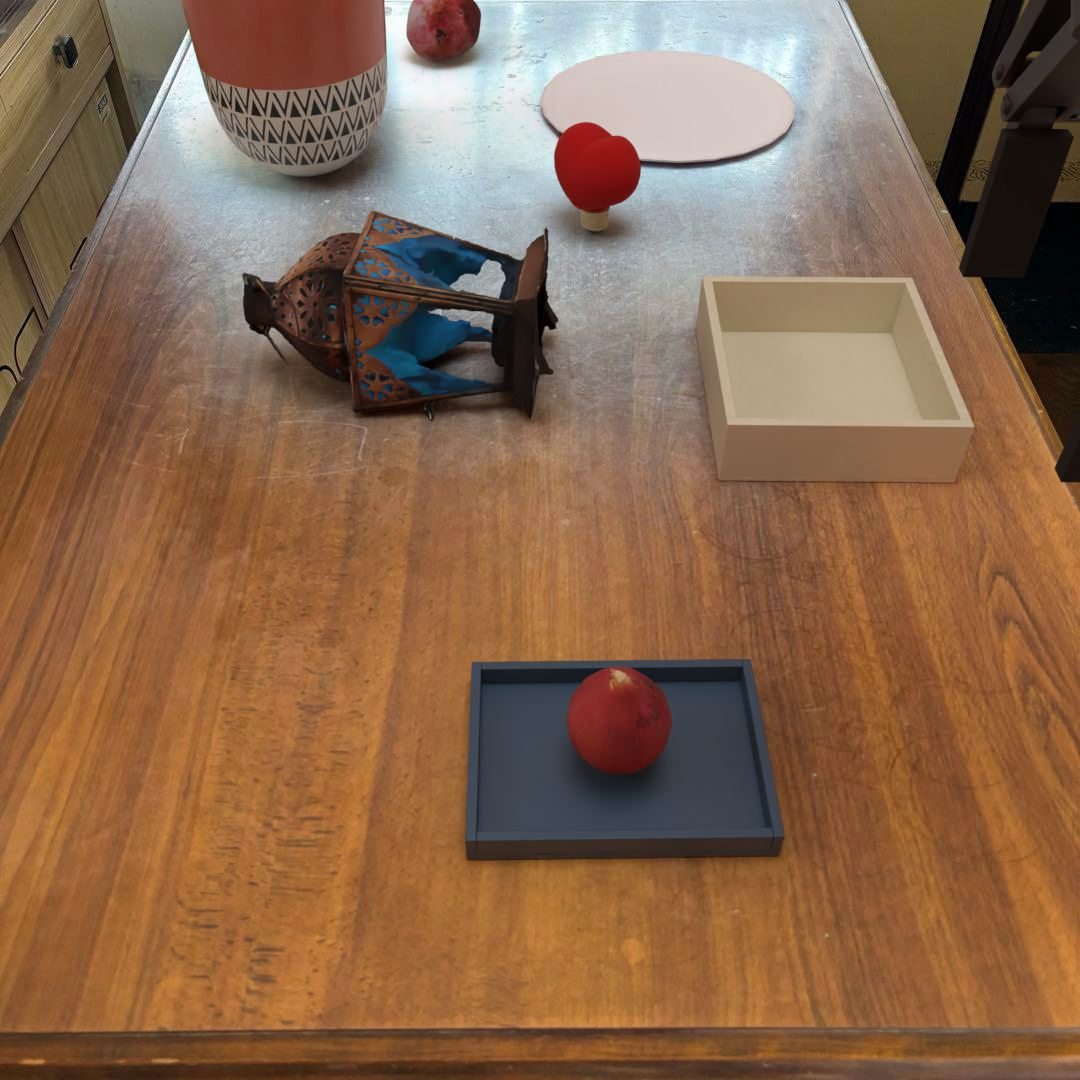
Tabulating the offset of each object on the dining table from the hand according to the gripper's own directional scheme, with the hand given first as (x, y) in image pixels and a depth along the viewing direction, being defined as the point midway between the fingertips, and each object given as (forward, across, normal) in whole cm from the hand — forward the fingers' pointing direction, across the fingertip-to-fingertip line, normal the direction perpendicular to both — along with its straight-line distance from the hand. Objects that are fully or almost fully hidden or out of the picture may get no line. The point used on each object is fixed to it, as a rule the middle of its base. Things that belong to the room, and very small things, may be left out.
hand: (1037, 364), depth 45 cm
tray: (+29, 0, -16) cm, 33 cm away
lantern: (+29, -38, -31) cm, 57 cm away
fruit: (+29, -103, -33) cm, 112 cm away
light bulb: (+29, -61, -16) cm, 69 cm away
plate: (+29, -88, -6) cm, 93 cm away
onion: (+28, 0, -16) cm, 32 cm away
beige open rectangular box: (+29, -34, +2) cm, 45 cm away
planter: (+29, -74, -46) cm, 92 cm away
